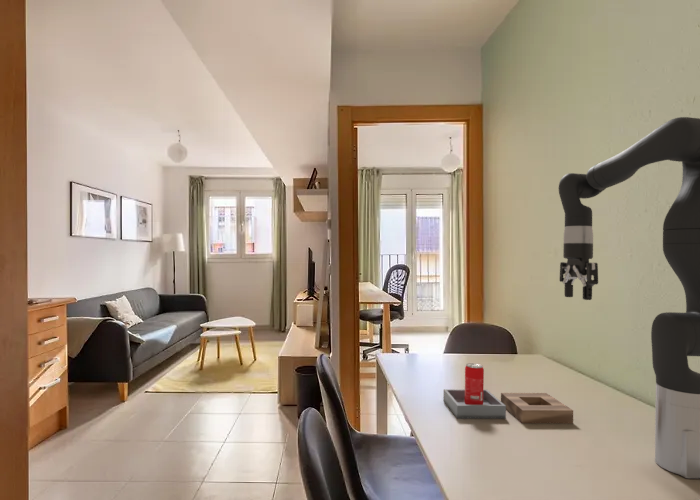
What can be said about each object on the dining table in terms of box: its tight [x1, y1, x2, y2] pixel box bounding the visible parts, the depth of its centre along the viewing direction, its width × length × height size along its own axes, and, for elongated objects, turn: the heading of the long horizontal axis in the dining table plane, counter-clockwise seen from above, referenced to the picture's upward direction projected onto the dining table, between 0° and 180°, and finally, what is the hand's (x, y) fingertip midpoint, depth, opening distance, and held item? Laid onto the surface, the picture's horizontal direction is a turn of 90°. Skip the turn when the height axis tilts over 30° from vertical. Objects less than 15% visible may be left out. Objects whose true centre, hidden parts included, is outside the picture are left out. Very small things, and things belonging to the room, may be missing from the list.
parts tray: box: [442, 388, 507, 420], centre depth 120 cm, size 14×14×4 cm
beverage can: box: [464, 362, 485, 405], centre depth 119 cm, size 5×5×12 cm
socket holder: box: [500, 392, 574, 424], centre depth 117 cm, size 14×14×4 cm
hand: (577, 298), depth 119 cm, fingers open, 8 cm apart
